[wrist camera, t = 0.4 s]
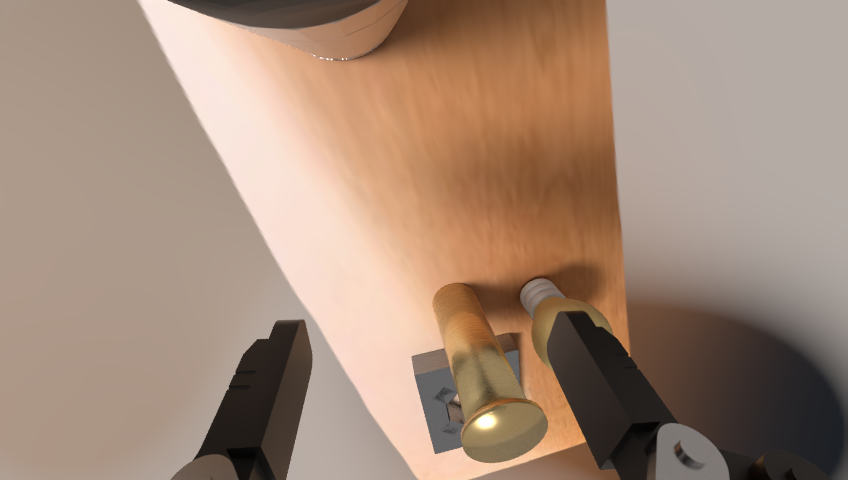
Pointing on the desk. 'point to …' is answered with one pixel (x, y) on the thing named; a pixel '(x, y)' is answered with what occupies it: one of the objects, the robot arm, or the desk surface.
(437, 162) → the desk surface
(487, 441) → the rivet
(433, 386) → the jig
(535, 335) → the light bulb
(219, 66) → the desk surface
